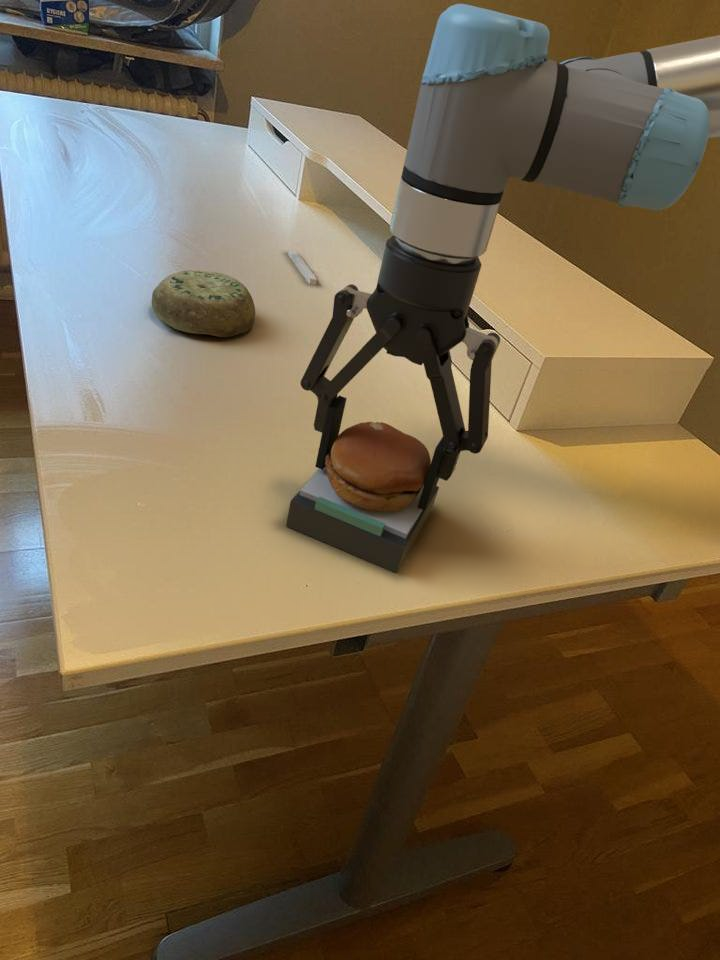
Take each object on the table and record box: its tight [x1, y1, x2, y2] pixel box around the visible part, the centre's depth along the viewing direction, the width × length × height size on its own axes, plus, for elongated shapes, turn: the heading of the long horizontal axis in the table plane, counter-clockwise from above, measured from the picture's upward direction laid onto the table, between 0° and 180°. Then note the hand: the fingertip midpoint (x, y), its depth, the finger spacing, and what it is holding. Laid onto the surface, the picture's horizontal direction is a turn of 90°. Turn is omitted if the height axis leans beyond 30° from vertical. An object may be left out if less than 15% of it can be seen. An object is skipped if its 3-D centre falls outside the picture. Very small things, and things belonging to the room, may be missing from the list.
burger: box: [325, 421, 432, 512], centre depth 68 cm, size 10×9×5 cm
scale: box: [285, 467, 440, 574], centre depth 70 cm, size 11×11×4 cm
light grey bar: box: [287, 249, 318, 286], centre depth 122 cm, size 12×1×1 cm, turn 20°
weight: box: [151, 269, 256, 338], centre depth 98 cm, size 14×13×5 cm
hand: (374, 481), depth 69 cm, fingers closed on burger, 9 cm apart
